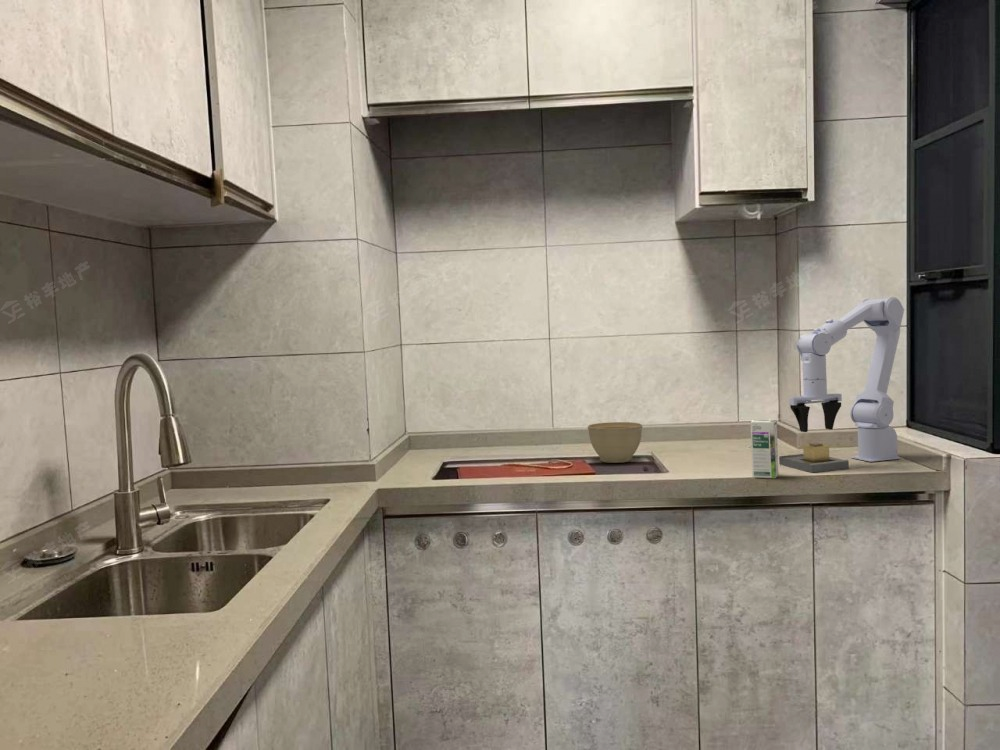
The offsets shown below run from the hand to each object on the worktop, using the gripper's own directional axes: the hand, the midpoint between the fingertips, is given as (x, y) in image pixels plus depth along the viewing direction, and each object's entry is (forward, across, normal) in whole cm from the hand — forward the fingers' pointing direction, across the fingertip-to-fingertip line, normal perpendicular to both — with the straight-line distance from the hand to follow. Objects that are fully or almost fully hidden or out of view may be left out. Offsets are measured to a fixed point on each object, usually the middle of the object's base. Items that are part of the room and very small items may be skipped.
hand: (816, 430), depth 203 cm
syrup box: (+10, +18, +3) cm, 21 cm away
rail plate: (+10, 0, -2) cm, 10 cm away
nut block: (+10, 0, 0) cm, 10 cm away
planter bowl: (+10, +41, -39) cm, 57 cm away
